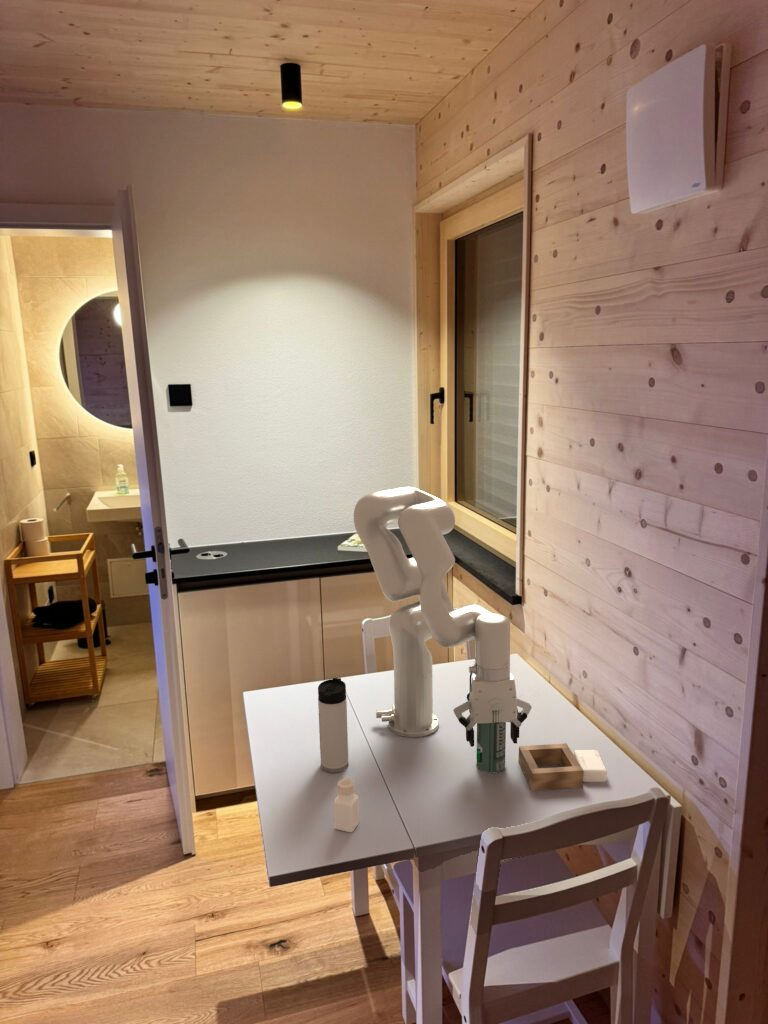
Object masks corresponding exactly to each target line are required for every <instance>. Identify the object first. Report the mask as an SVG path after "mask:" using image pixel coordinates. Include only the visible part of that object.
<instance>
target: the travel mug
mask: <svg viewBox="0 0 768 1024" xmlns="http://www.w3.org/2000/svg"><path fill="white" fill-rule="evenodd" d="M346 688H347V684H346V683H345V682H344V681H343V680H342V678H340V677H339V678H338V677H333V678H332V679H327V680H326V679H325V680H324V681H322V682H321V683H320V684H319V685H318V686H317V694H318V695H317V696H318V698H317V702H318V703H317V704H318V726H319V727H318V729H319V731H318V732H319V749H320V750H319V751H320V752H319V753H320V767H321V769H322V770H323V771H324V772H327V773H328V774H329V773H330V774H337V773H342V772H343V771H346V770H347V769H348V767H349V742H348V740H349V739H348V737H349V735H348V708H347V707H348V705H347V704H348V703H347V689H346Z"/></svg>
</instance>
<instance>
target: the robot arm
mask: <svg viewBox="0 0 768 1024" xmlns="http://www.w3.org/2000/svg"><path fill="white" fill-rule="evenodd" d="M353 523H354V528H355V531H356V533H357V535H358V538H359V539H360V541H361V542H362V544H363V546H364V548H365V550H366V552H367V554H368V556H369V560H370V562H371V565H372V567H373V571H374V573H375V576H376V579H377V582H378V585H379V587H380V589H381V591H382V594H383V595H384V597H385V598H386V599H387V600H388V601H390V602H401V601H404V600H407V599H411V598H414V597H418V599H419V600H418V601H414V602H411V603H409V604H405V605H403V606H401V607H399V608H397V609H395V611H393V612H392V613H391V615H390V617H389V619H388V630H389V635H390V640H391V644H392V653H393V694H394V695H393V698H394V699H393V700H394V701H393V702H394V703H393V704H392V703H391V708H388V709H376V711H375V716H376V717H375V718H376V719H381V722H382V723H384V722H388V727H389V729H390V731H392V732H393V733H394V734H397V735H399V736H402V737H408V738H420V737H425V736H429V735H431V734H433V733H435V732H436V731H437V730H438V728H439V726H440V720H439V717H438V716H437V715H435V713H433V712H434V711H433V710H434V709H433V702H434V701H433V693H434V692H433V655H432V653H431V651H430V650H429V648H428V646H427V645H426V642H427V641H428V640H430V639H432V638H434V640H435V641H436V642H437V643H438V644H439V645H441V646H442V647H445V648H455V647H458V646H461V645H462V644H465V643H468V642H469V641H474V640H475V641H474V655H475V657H474V658H475V659H474V663H473V665H472V666H468V672H469V674H473V675H472V676H471V681H470V688H469V697H468V700H467V701H466V702H463V703H462V704H460V705H458V706H457V707H455V708H453V713H454V716H455V717H456V718H457V720H458V723H460V724H461V725H462V726H463V727H464V728H465V739H466V742H468V743H469V745H470V747H471V748H472V747H475V729H474V727H475V725H477V724H487V723H493V714H492V713H493V712H492V711H494V723H495V719H496V723H498V710H499V723H503V722H506V723H510V731H509V732H510V733H509V734H510V739H511V741H512V743H513V744H515V745H516V744H518V739H519V738H520V727H521V726H522V724H523V722H524V721H525V720H526V719H527V718H528V715H529V714H530V712H531V710H532V708H533V707H532V705H531V703H529V702H527V701H525V700H522V699H520V698H518V696H517V688H516V687H517V686H516V682H515V677H514V675H513V674H512V673H511V622H510V619H509V618H508V617H507V616H505V615H503V614H500V613H493V612H492V611H490V610H489V609H487V608H485V607H483V606H482V605H479V604H476V603H475V604H468V605H464V606H462V607H459V608H456V609H454V606H453V604H452V601H451V597H450V595H449V593H448V590H447V587H446V584H445V582H444V580H443V579H444V578H445V577H446V576H445V575H446V574H447V573H448V572H449V571H450V570H451V569H452V568H453V567H454V565H455V562H456V558H455V556H454V553H453V552H452V550H451V548H450V546H449V545H448V543H447V541H446V538H445V537H444V535H447V534H449V533H450V532H452V530H453V529H454V528H455V524H456V517H455V514H454V510H453V509H452V508H451V506H450V505H449V504H448V503H446V502H445V501H444V500H442V499H440V498H438V497H436V496H434V495H432V494H430V493H428V492H425V491H424V490H420V488H416V487H414V486H413V487H412V486H402V487H396V488H389V489H385V490H383V489H382V490H378V491H375V492H371V493H369V494H368V493H367V494H366V495H364V496H362V497H361V498H360V499H359V500H358V501H357V502H356V504H355V506H354V509H353ZM393 524H394V525H395V524H397V526H398V528H399V531H400V534H401V535H402V538H403V539H404V541H405V543H406V546H407V547H408V549H409V552H410V554H411V555H412V557H410V558H409V557H407V555H406V553H405V551H404V548H403V545H402V543H401V541H400V540H399V538H398V537H397V536H396V534H394V533H393V532H392V531H391V530H390V529H388V528H387V526H389V525H393ZM518 707H519V708H521V711H520V712H518ZM495 710H497V713H495ZM467 711H469V715H468V716H467V717H465V716H464V715H463V713H465V712H467ZM495 714H497V715H495Z"/></svg>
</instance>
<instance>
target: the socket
mask: <svg viewBox="0 0 768 1024" xmlns="http://www.w3.org/2000/svg"><path fill="white" fill-rule="evenodd" d="M518 764H519V766H520V768H521V770H522V773H523V774H524V776H525V779H526V781H527V783H528V784H529V785H528V786H529V787H530V789H531V791H532V792H533V791H549V790H562V789H575V788H576V789H577V788H583V787H584V782H583V771H584V770H583V769H582V767H581V766H580V764H579V762H578V761H577V759H576V758H575V756H574V752H573V751H572V750H571V748H570V747H569V745H568V743H566V742H565V743H549V744H548V743H547V744H537V745H536V744H535V745H533V744H532V745H522V746H521V745H520V746H519V745H518ZM549 765H550V766H551V765H561V766H557V767H556V766H555V767H541V768H539V766H549Z"/></svg>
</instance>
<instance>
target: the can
mask: <svg viewBox="0 0 768 1024" xmlns="http://www.w3.org/2000/svg"><path fill="white" fill-rule="evenodd" d="M492 712H493V713H492V714H493V723H487V724H477V723H476V766H477V769H479V770H480V771H481V772H483V773H484V772H485V773H487V774H490V773H491V774H498V773H499V772H502V771H503V770H504V769H505V768H506V745H507V744H506V742H507V741H506V740H507V739H506V736H507V735H506V733H507V722H503V723H499V710H498V723H496V719H495V723H494V711H492ZM495 713H497V710H495ZM495 715H497V714H495Z"/></svg>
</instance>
